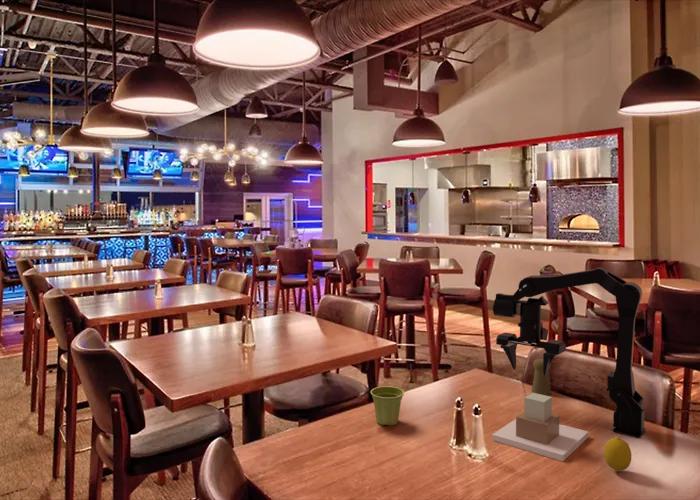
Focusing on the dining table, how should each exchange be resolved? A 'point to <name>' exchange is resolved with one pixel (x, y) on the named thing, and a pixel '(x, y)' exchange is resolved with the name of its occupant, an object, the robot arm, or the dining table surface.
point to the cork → (540, 379)
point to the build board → (545, 450)
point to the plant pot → (387, 404)
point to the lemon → (617, 454)
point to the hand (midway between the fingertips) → (529, 371)
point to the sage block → (538, 407)
